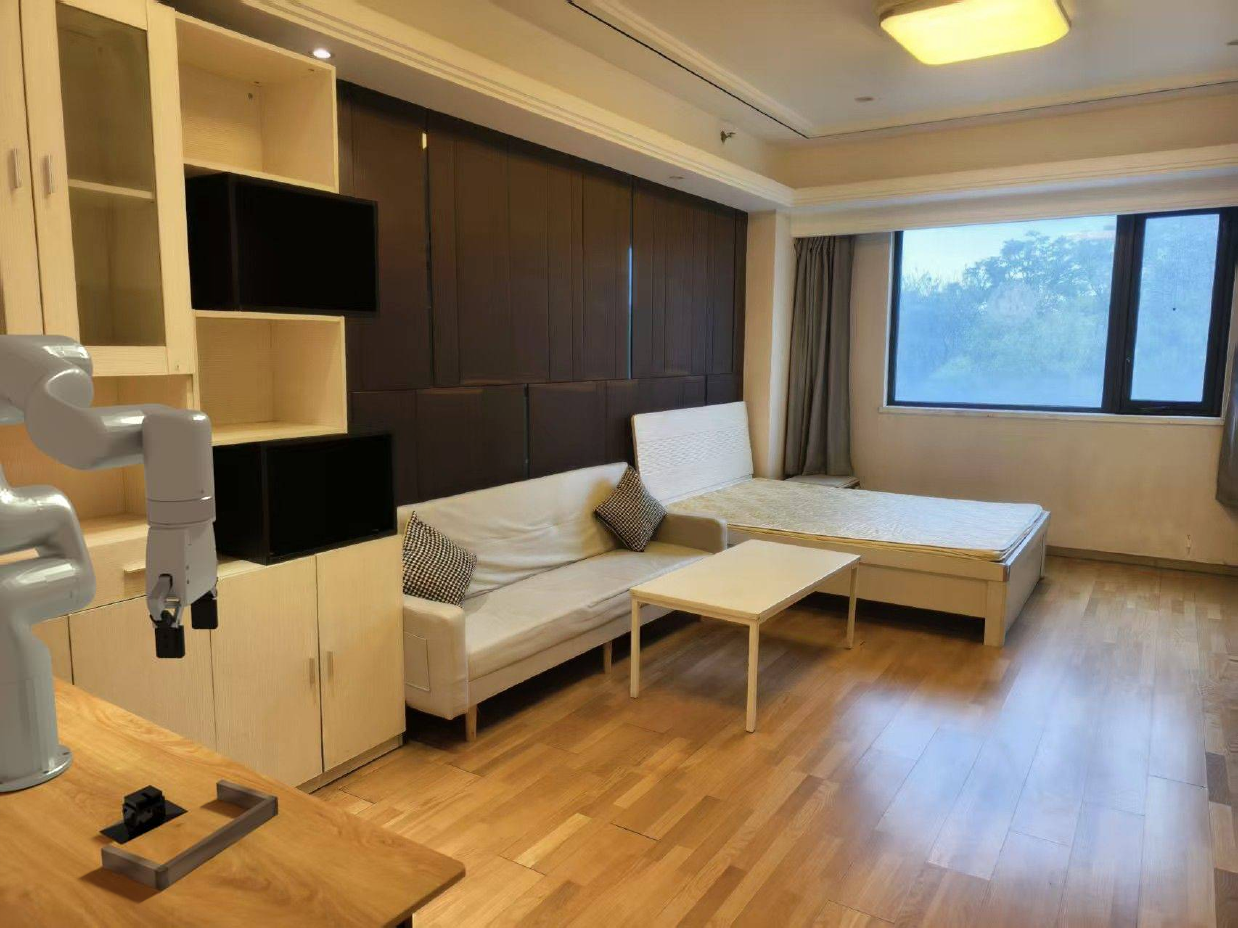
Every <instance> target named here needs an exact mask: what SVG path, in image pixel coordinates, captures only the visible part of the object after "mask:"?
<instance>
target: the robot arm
mask: <svg viewBox="0 0 1238 928" xmlns="http://www.w3.org/2000/svg"><path fill="white" fill-rule="evenodd" d="M93 375H94V363H93V359H92V358H91V355H90V353H89V351H88V350H87V348H86V347H85V346H84V345H83V344H82V343H80V342H79V341H78V340H77V339H75V338H72V337H70V336H67V335H62V334H0V427H3V426H12V425H13V426H15V425H22V424H23V425H24V426H25V429H26V432H27V434H28V436H29V439H30V440H31V442H32V443H33V444H34V446H35V447H36V448H37V449H38V450H39V451H40V452H41V453H42V454H45V455H46V456H48V457H50V458H52V459H53V460H55V461H57V462H59V463H61V464H63V465H65V466H67V467H69V468H72V469H74V470H75V469H76V470H80V471H84V472H85V471H87V472H92V471H93V472H96V471H100V470H107V469H113V468H114V469H115V468H116V469H117V468H120V467H129V466H135V465H137V466H139V465H143V472H144V473H143V474H144V488H145V506H146V520H147V521H146V522H147V526H148V528H147V536H146V546H145V564H144V565H145V600H146V601H145V602H146V607H147V609H148V611H149V613H150V614H149V618H150V620H151V622H152V623H151V625H152V628H153V629H154V641H155V657H156V658H158V659H183V658H184V657H185V656H186V643H185V642H186V641H185V625H184V624H183V625H181V623H182V618H183V614H184V611H185V608H186V607H188V606H190V618H191V619H190V620H191V628H192V629H193V630H211V631H213V630H217V628H219V617H218V615H219V613H218V612H219V611H218V599H217V598H218V595H219V591H218V589H217V583H218V582H219V577H218V571H219V570H218V568H219V559H218V558H217V550H216V549H217V548H216V547H217V546H216V539H215V531H214V524H213V523H214V522H215V521H216V520H217V519H216V518H217V517H216V500H215V499H216V498H215V496H216V495H215V476H214V473H215V472H214V458H213V457H214V456H213V438H212V437H213V436H212V433H213V431H212V422H211V420H210V417H209V416H208V415H207V413H205V412H204V411H201V410H197V409H185V408H184V409H182V408H181V409H179V408H177V409H176V408H174V407H172V406H169V405H166V404H161V403H141V404H139V403H138V404H122V405H121V404H120V405H109V406H97V407H96V406H95V407H91V405H92V403H93V400H94V396H95V395H94V394H95V386H94V383H93V380H92V378H93ZM3 470H4V469H3V466H2V463H1V462H0V556H6V555H10V554H14V553H19V552H24V551H29V550H30V551H31V550H33V549H35V551H36V552H37V555H38V556H37V557H32V558H28V559H27V558H26V559H22V560H17V561H12V562H8V563H4V564H0V793H7V792H12V791H17V790H21V789H27V788H30V787H34V786H37V785H39V784H42V783H45V782H47V781H49V780H52V779H53V778H55V777H57V776H58V775H60V774H62V773H63V772H65V771H66V770H67V768H68V767H70V765H71V764H72V763H73V762H72V761H73V757H74V756H73V751H72V750H71V748H69V747H68V746H66V745H62V744H60V742H59V731H58V730H59V729H58V720H57V719H58V718H57V717H58V716H57V706H56V695H55V687H54V686H55V685H54V674H53V665H52V664H53V663H52V657H51V652H50V649H49V647H48V646H47V644H46V643H45V642H44V641H43V640H42V639H40V637H38V636H36V635H35V634H34V633H33V632H32V630H31V627H32V626H34V625H37V624H41V623H42V622H45V621H49V620H52V619H56V618H59V617H62V616H65V615H69V614H71V613H75V612H77V611H81V610H83V609H85V608H86V607H87V606H89V605H90V604H91V603H92V602H93V600H94V598H95V596H96V593H97V579H96V575H95V570H94V567H93V563H92V560H91V556H90V553H89V549H88V547H87V544H86V541H85V537H84V534H83V531H82V528H81V523H80V522H79V518H78V516H77V513H76V510H75V508H74V506H73V504H72V501H70V499H69V497H68V496H67V495H66V494H65V493H64V492H63V491H62V490H60V489H59V488H58V487H56V486H53V485H50V484H49V485H47V484H31V485H26V486H20V487H19V486H18V487H11V485H9V483H8V481H7V479H6V477H5V474H4V473H5V472H4V471H3ZM169 610H174V612H173V615H172V613H171V612H170V611H169Z"/></svg>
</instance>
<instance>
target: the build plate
mask: <svg viewBox="0 0 1238 928" xmlns="http://www.w3.org/2000/svg"><path fill="white" fill-rule="evenodd" d="M123 802H124V803H122V808H121V809H122V810H121V813H122V817H123V819H122V820H120V821H118V822H116V823H114V824H111V825H109V826H107V827H105V828H103V829H101V830H99V831H98V833H99V834H102V835H104V836H105V837H106V838H108V839H110V840H112V841H113V842H116V843H117V844H119V845H121V846H122V845H125V844H127V843H128V842H130V841H133V840H134V839H137V838H139V837H141V836H143V835H145V834H146V833H149V832H151V831H152V830H154V829H156V828H158V827H161V826H163V825H165V824H166V823H169V822H170V821H173V820H174V819H176V818H179V817H181V816H182V815H185V814H187V813H189V810H187V809H185V808H183V807H181V806H179V805H178V804H175V803H174V802H173V801H171V800H168V799H166V797H165V795H163V790H161V789H159V788H157V787H155V786H153V785H152V784H151V785H150V784H149V785H146V786H144V787H142V788H141V789H138V790H136V791H134V792H131V793H130V794H127V795H124V796H123Z"/></svg>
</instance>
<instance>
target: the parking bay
mask: <svg viewBox="0 0 1238 928" xmlns="http://www.w3.org/2000/svg"><path fill="white" fill-rule="evenodd" d="M215 785H216V800H218V801H222V802H225V803H227V804H231V805H234V806H237V807H240V808H243V809H246V811H245V812H243V813H242V814H240V815H239V816H237V817H236V818H234V819H232V820H231V821H229V822H227V823H226V824H224V825H222V826H221V827H219V828H218V829H216V830H215V831H213V832H212V833H210V834H209V835H207V836H205V837H204V838H203V839H201V840H199V841H197V842H196V843H195V844H194V843H193V844H192V845H191V846H190V847H188V848H186V849H184V851H183V850H182V852H180V853H178V854H177V855H175V856H174V857H172V858H170V859H169V860H167V861H166V862H164V863H163V864H161V863H158V862H155V861H153V860H150V859H148V858H145V857H143V856H140V855H138V854H135V853H132V852H130V851H127V850H125V849H123V848H119V847H116V846H114V845H112V844H107V845H105V846H103V847H101V848H100V852H101V853H100V854H101V864H102V865H101V866H102V868H103V869H106V870H108V871H112V872H113V873H116V874H119V875H121V876H124V877H126V878H128V879H131V880H133V881H136V882H138V883H141V884H143V885H145V886H148V887H150V888H153V889H156V890H158V891H161V892H163V891H164V890H166V889H167V888H168V887H170V886H172V885H173V884H175V883H176V882H178V881H179V880H181V879H182V878H184V877H185V876H187V875H188V874H190V873H191V872H193V871H194V870H196V869H198V868H199V867H200V866H202V865H203V864H205V863H206V862H209V861H210V860H211V859H214V857H216V856H217V855H219V854H220V853H221V852H223V851H224V850H226V849H227V848H230V846H232V845H233V844H235V843H236V842H238V841H240V840H241V839H243V838H244V837H246V836H247V835H248V834H250V833H252V832H253V831H255V830H257V829H258V828H260V827H261V826H262V825H264V824H265V823H267V822H268V821H269V820H271V819H273V818H274V817H276V816H277V815H279V799H278V796H276V795H273V794H269V793H267V792H262V791H260V790H257V789H254V788H250V787H247V786H244V785H241V784H237V783H235V782H231V781H228V780H225V779H220V780H219V781H217V782H216V783H215Z"/></svg>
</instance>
